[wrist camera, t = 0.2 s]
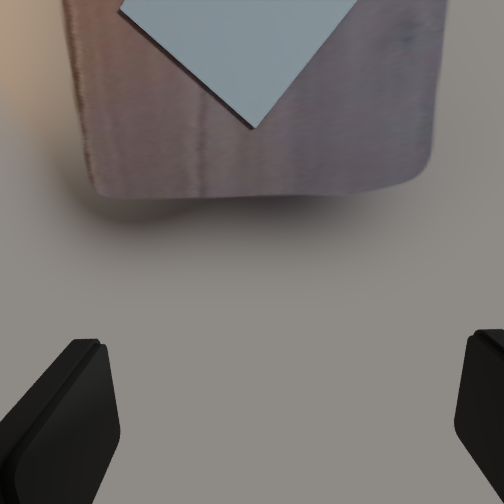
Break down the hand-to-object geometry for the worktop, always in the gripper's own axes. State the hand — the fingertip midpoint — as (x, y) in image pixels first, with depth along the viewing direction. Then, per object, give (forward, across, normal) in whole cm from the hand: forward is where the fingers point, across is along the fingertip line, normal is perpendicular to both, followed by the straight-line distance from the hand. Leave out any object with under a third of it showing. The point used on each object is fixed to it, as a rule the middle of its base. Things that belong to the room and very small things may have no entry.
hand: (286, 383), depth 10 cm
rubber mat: (+31, +1, -18) cm, 36 cm away
